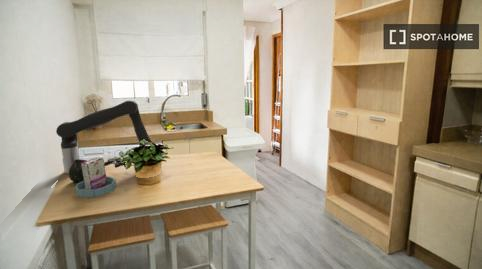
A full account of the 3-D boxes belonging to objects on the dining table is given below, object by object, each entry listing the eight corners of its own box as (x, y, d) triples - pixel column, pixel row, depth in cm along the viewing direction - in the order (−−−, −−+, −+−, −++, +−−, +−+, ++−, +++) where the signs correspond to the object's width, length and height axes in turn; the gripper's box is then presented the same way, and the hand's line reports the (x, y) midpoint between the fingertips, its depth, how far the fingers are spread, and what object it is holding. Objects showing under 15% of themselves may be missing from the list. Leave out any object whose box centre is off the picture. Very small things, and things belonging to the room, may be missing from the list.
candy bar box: (101, 183, 171) (97, 156, 167) (107, 184, 169) (103, 157, 165) (85, 191, 160) (80, 162, 157) (92, 192, 159) (87, 163, 155)
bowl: (68, 194, 160) (66, 187, 159) (98, 181, 178) (98, 174, 177) (93, 200, 152) (92, 192, 151) (123, 185, 169) (122, 179, 169)
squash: (104, 167, 185) (85, 151, 182) (94, 177, 171) (73, 159, 167) (90, 182, 187) (71, 166, 184) (78, 192, 173) (57, 175, 170)
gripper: (121, 150, 188) (100, 157, 174) (138, 152, 182) (118, 160, 168) (123, 161, 190) (102, 169, 176) (139, 164, 184) (119, 172, 170)
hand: (109, 165), depth 172 cm, fingers open, 8 cm apart
